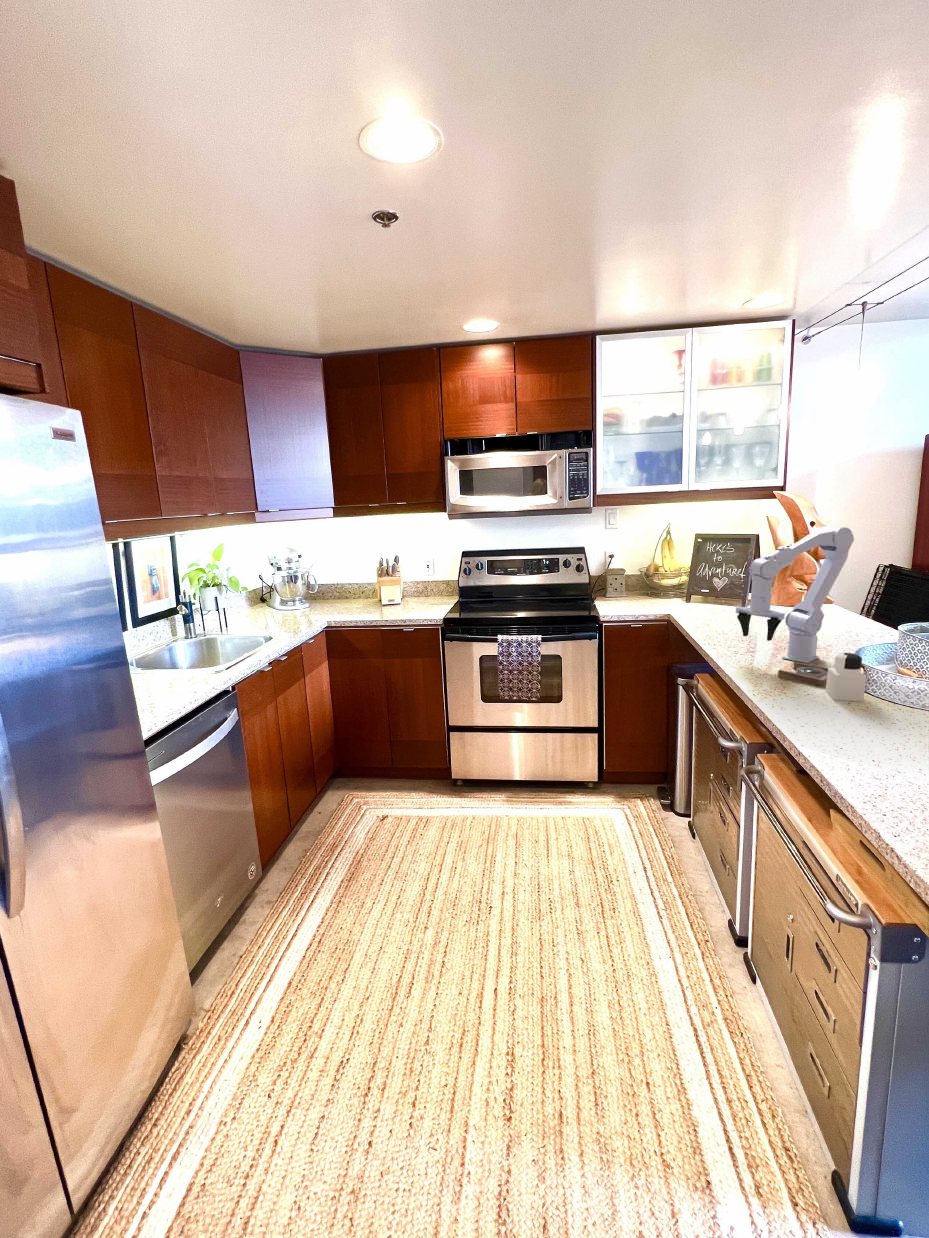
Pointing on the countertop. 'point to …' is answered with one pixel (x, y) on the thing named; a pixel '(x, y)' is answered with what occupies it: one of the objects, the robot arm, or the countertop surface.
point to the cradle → (804, 678)
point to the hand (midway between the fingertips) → (757, 637)
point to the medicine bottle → (846, 678)
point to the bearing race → (811, 671)
